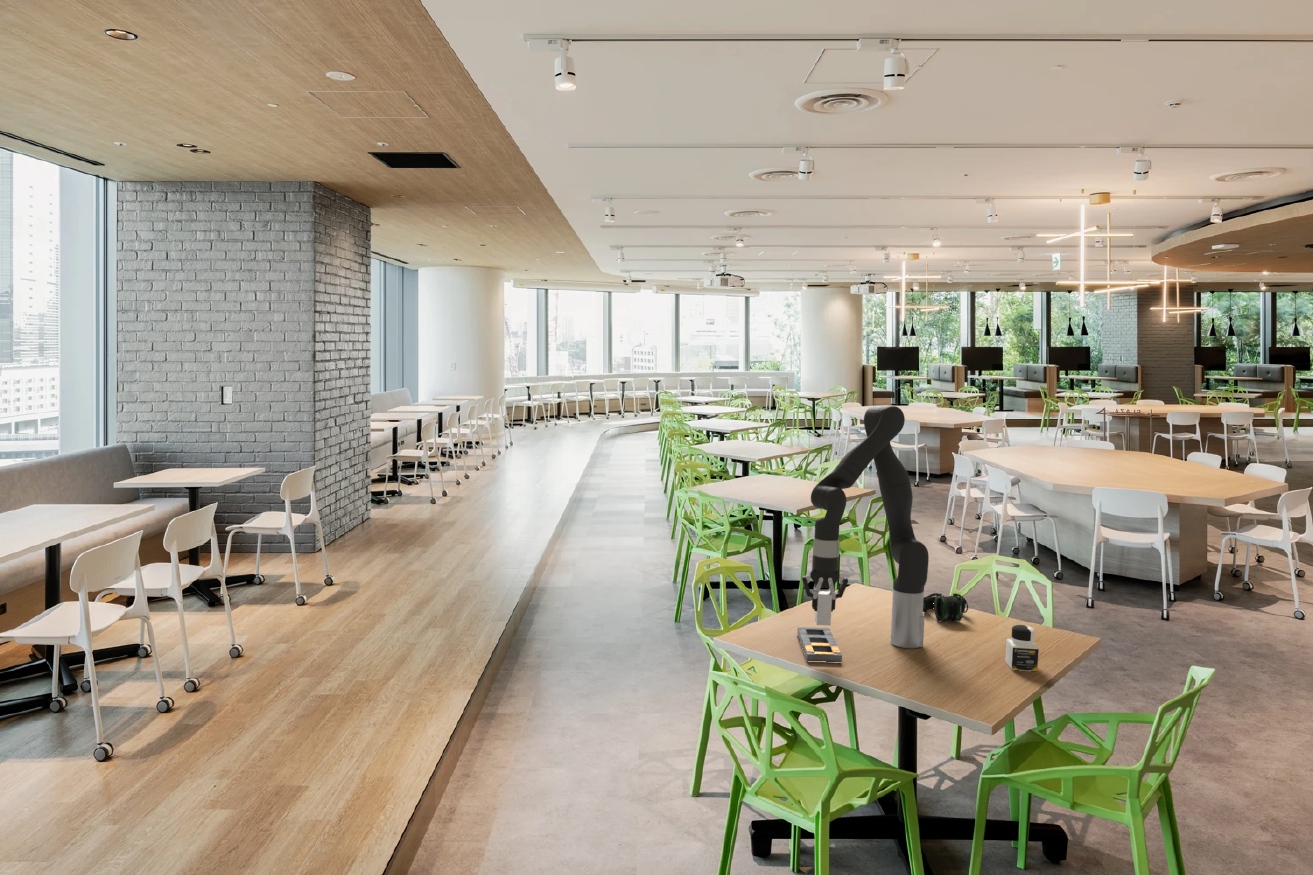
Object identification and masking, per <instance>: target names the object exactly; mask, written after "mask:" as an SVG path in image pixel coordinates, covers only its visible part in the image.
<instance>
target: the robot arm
mask: <svg viewBox="0 0 1313 875" xmlns="http://www.w3.org/2000/svg"><path fill="white" fill-rule="evenodd" d="M905 418H906V417H905V415H904V412H903V410H902V409H901V408H899V406H896V405H877V406H876V405H875V406H871V407H869V408H868V409H867V410H865V412H864V415H863V425H864V429H865V433H866V436H867V437H866V438H865V439H863V440H862V441H861V442H860V443H859V444H857V445H856V446H854V447H853V448H852V449H851V450H850V451H848V452H847V453H846V454H845V455H844V456H843V457H842V459H840V461H839V463H838V464H837V465H836V466H835V468H834V470H832V471H831V472H830V473H829V474H828V475H826V476H825V477H824V478H823V479H821V480H820V481H819V482H817V484H816V485H815V486H814V487H813V489H812V491H811V493H810V502H811V504H812V505H813V506H814V507H815V508H817V509H820V510H825V511H826V512H825V515H824V517H819V518H817V519H816V520H815V523H814V539H813V544H812V545H813V546H812V560H811V561H812V563H811V564H812V565H811V572H810V574H807V575H803V574H802V575H801V577H800V579H801V580H802V585H803V588H804V591H805V593H806V594H805V595H806V596H807V597H810V598H811V607H812V610H813V611H814V612H815V611H817V596H818V593H819V591H821V589H828V592H830V593H831V595H832V605H831V613H833V612H834V611H835V610H836V600H837V599H839V598H840V599H842V597H843V595H844V593H845V590H846V588H847V586H848V583H849V580H848V578H847V577H846V576H841V575H840V573H839V564H840V563H839V560H840V540H839V539H840V526H841V521H842V519H843V516H844V512H845V510H846V507H847V496H846V493H845V492H844V490H845V489H846V490H847V489H850V488H852V487H853V485H854V484H855V483H856V481H857V480H858V479H859V477H861V475H862V473H863V472H864V471H865V469H866V468H867V467H868V466H869V465H870V463H871V462H872V461H874V465H875V469H876V475H877V479H878V486H879V491H880V496H881V499H882V503H883V509H884V513H885V517H886V521H887V525H888V526H887V527H888V534H889V543H890V544H889V545H890V553H891V557H892V558H893V560H894V561H895V562H896V563H897V564H898V569H897V571H898V572H897V577H895V578H894V580H893V582H892V603H891V605H892V606H891V623H890V624H891V626H890V643H891V644H892V645H893V646H896V647H898V648H904V649H918V648H924V641H925V640H924V639H925V637H924V636H925V620H926V619H925V618H926V617H925V616H924V614H923V613H924V612H923V599H924V597H925V596H924V595H925V593H924V592H925V586H926V583H927V581H928V572H929V571H928V570H929V561H930V560H929V551H928V548H927V546H926V545H925V544H923V543H922V542H920V541H919V540H917V538H916V536H915V532H914V528H913V525H912V515H911V514H912V508H913V499H914V498H913V490H912V484H911V479H910V476H909V473H908V471H907V469H906V468H905V466H904V465H903V463H902V462H901V460H900V459H899V457H898V456H897V455H896V453H895V451H894V449H893V447H892V444H891V441H893V439H895V437H897V436H898V435H899V433H901V432H902V430H903V428H904V425H905V423H906V421H905V420H906V419H905ZM810 580H812V582H813V583H814V586H813V589H812V591H811V590H810V586H809V583H810V582H811V581H810ZM838 581H839V587H838V589H837V592H835V585H836V583H837V582H838Z"/></svg>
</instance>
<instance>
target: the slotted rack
mask: <svg viewBox="0 0 1313 875" xmlns="http://www.w3.org/2000/svg"><path fill="white" fill-rule="evenodd" d="M796 634H798V635H797V638H798V637H799V638H798V640H799V639H800V641H799V643H800V642H801V644H800V646H802V647H801V649H802V648H803V650H802V652H803V651H804V652H803V654H804V653H805V655H804V657H806V658H805V661H806V660H807V661H826V662H843V654H842V653H841V650H840V649H839V646H838V644H837V642H836V640H835V637H834V635H833V634H832V632H831V629H830V627H807V626H797V633H796ZM807 661H806V662H807Z"/></svg>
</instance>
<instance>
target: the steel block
mask: <svg viewBox="0 0 1313 875" xmlns="http://www.w3.org/2000/svg"><path fill="white" fill-rule="evenodd" d="M831 605H832V595H831V593H830V591H827V590H826V591H823V590H822V591H821V590H820V591H819V593H818V596H817V611H814V614H815V615H814V622H815V624H816V626H831V624H832V623H831V622H832V621H831V620H832V612H831Z"/></svg>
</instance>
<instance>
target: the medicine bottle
mask: <svg viewBox="0 0 1313 875" xmlns="http://www.w3.org/2000/svg"><path fill="white" fill-rule="evenodd" d="M1035 632H1036V631H1035V629H1034V628H1033V627H1031V626H1029V625H1024V624H1016V625H1013V626H1012V627H1011V636H1010V638H1007V639H1006V645H1005V647H1006V648H1005V663H1006V665H1007V666H1008V667H1009V669H1010V670H1011V671H1015V670H1019V672H1031V671H1037V672H1038V668H1039V666H1038V664H1039V663H1038V662H1039V651H1040V650H1039V647H1038V645H1036V643H1035V634H1036V633H1035Z"/></svg>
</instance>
